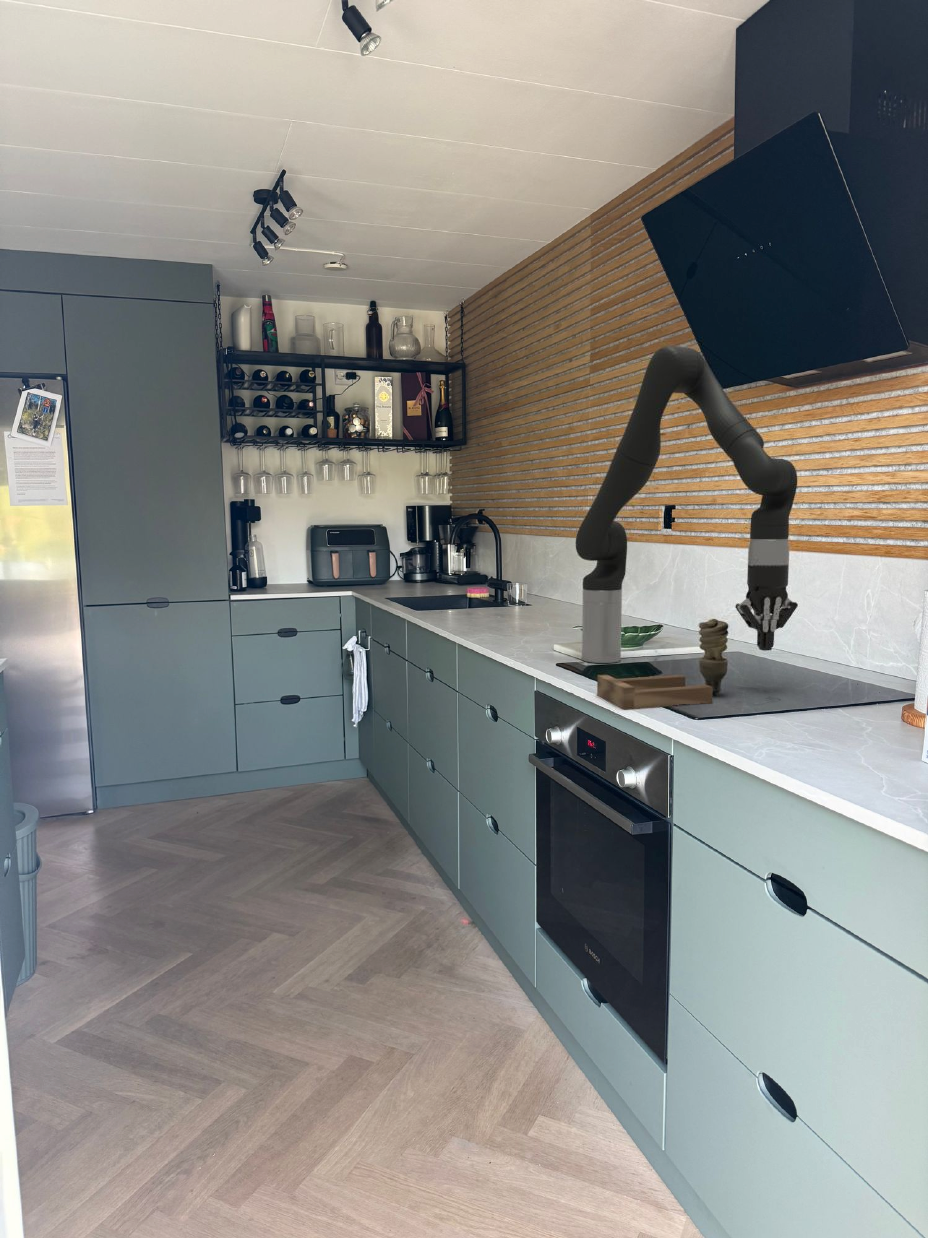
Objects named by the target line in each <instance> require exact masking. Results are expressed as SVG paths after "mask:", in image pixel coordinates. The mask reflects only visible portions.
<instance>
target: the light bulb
mask: <svg viewBox="0 0 928 1238" xmlns="http://www.w3.org/2000/svg"><path fill="white" fill-rule="evenodd" d="M698 623H699V624H698V628H699V630H698V634H699V635H700V637H699V639H698V640H699V642H700V643H701V644H700V645H699V649H700V650H702V651H704V655H703V657H700V658H699V671H700V674H701V675H702V677H703V678H704V680H705V685H708V686H711V687H713V694H712V697H714V696H716V695H717V694H719V693H720V691H722V689H721V688H722V687H721V685H722V680H723V679H724V678H725V676H726V675H727V672H728V663H729V662H728V658H725V657H723V652H725V651H727V649H728V645H727V643H728V640H729V639H728V635H729V631H728V628H729V624H728V623H727V622H725V621H723V620H719V619H716V618H711V619H709V620H708V621H707V620H706V621H705V622H704V621H703V622H702V621H701V622H698Z"/></svg>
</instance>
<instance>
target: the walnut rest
mask: <svg viewBox="0 0 928 1238" xmlns="http://www.w3.org/2000/svg"><path fill="white" fill-rule="evenodd" d="M596 682H597V684H596V686H597V689H596V690H597V691H596V696H598V697H600V698H601V699H604V700H606V702H609V703H610V704H613V705H614V706H616V707H618V708H620V709H622V710H635V709H636V710H637V709H648V708H662V707H663V708H665V707H674V706H673V705H678V706H680V705H679V704H690V705H701V704H700V703H703V704H711V703H713V695H712V694H713V687H711V686H708V685H706V684H702V685H690V686H686V676H685V675H682V674H673V675H671V674H670V675H658V676H644V677H643V676H642V677H629V678H627V677H626V678H615V677H613V676H611V675H608V674H598V675H597V680H596Z"/></svg>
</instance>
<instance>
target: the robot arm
mask: <svg viewBox="0 0 928 1238" xmlns="http://www.w3.org/2000/svg"><path fill="white" fill-rule="evenodd" d="M673 394H683V395H685V396H686V397H688V398H689V399H690V400H692V402H693V403H694V404H696V405H697V406H698V408H699V409H700V411H701V412H702V414H703V416H704V418H705V422H706V424H707V428H708V431H709V432H710V435H711V437H712V438H713V441H715V443H716V444H717V445H718V446H719V447H720V448H721V450H722V451H723V452H724V453H725V454H726V456H727V457H728V458H729V459H730V460H731V461H732V463H733V466H734V467H735V470H736V472H737V474H738V475H739V477H740V480H741V481H742V483H743V484H744V485H745V486H746V487H747V488H748V490H750V491H751V492H752V493H754V494H756V495H758V496H759V495H760V496H761V501H760V505H759V507H758V508H757V509H755V510H754V511H753V512H752V513H751V515H750V526H749V527H750V528H749V529H750V531H749V543H748V544H749V545H748V550H747V576H746V577H747V580H746V581H747V582H746V584H747V589H748V590H747V592H746V594H745V599H744V600H743V601H742V602H740V603H736V604H735V605H734V606H735V607H734V608H735V609H736V611H737V612H738V614H739V615H740V617H741V618H742V619H743V621H744V623H745V624H746V626H747V627H748V628H750V629H753V630H755V631H756V632H757V635H756V646H757V648H758V649H759V650H761V651H763V652H765V651H768V652H769V651H772V649H773V648H774V645H775V631H776V630H778V629H782V628H784V626H786V624H787V622H788V621H789V619H790V618H791V616H792V615H793V614H794V613H795V611H796V609H797V608H798V606H799V604H798V603H797V602H796V601H792V600H791V599H790V598H789V594H788V591H787V587H788V585H789V570H790V568H789V567H790V566H789V565H790V546H789V533H790V522H789V521H790V515H791V511H792V509H793V504H794V501H795V497H796V493H797V488H798V473H797V469H796V467H795V466H794V465H793V463H792V462H791V461H789V460H787V459H785V458H773V457H771V456H770V455H769V454H767V452H766V451H765V449H764V447H765V442H764V439H763V437H762V435H761V433H759V431H757V429H755V427H754V426H753V425H752V423H750V422H749V420H748V419H747V418H746V417H745V416H744V415H743V414H742V412H741V411H740V410H739V409H738V408H737V406H735V404H734V402H733V401H732V400H731V399H730V398H729V396H728V395H727V393H726V391H725V390H724V388H723V387H722V385H721V384H720V382H719V380H718V379H717V378H716V376H715V374H714V372H713V371H712V369H711V368H710V366H709V364H708V363H707V360H706V359H705V358H704V357H703V355H702V354H701V353H700V352H699V351H697V350H696V349H694V348H691V347H687V346H675V345H665V346H662V347H660V348H659V349H657V350H656V351H655V352H654V353H653V355H652V356H651V358H650V360H649V362H648V365H647V367H646V370H645V372H644V375H643V379H642V383H641V386H640V389H639V391H638V395H637V398H636V401H635V404H634V406H633V409H632V411H631V414H630V417H629V419H628V421H627V424H626V427H625V430H624V432H623V434H622V437H621V439H620V440H619V443H618V446H617V447H616V450H615V452H614V454H613V457H612V460H611V462H610V464H609V467H608V469H607V472H606V473H605V474H606V475H605V477H604V479H603V481H602V483H601V486H600V488H599V489H598V492H597V495H596V497H595V498H594V501H593V503H592V504H591V506H590V508H589V509H588V511H587V512H586V515H585V516H584V519H583V520H582V522H581V524H580V526H579V528H578V530H577V533H576V537H575V551H576V553H577V555H578V556H579V558H581V559H582V560H584V561H590V562H591V561H592V562H596V566H595V568H594V569H593V570H592V571H590V573H588V574H586V575H585V576H584V577H583V579H582V612H581V613H582V630H581V631H582V632H581V635H582V637H581V640H582V641H581V660H582V661H584V662H587V663H593V664H596V663H597V664H612V663H619V662H621V660H622V657H621V656H622V617H623V616H622V610H623V609H622V607H623V583H624V579H625V577H626V572H627V571H626V569H627V555H628V554H627V553H628V539H627V538H628V537H627V532H626V529H625V527H624V526H623V524H621V522H618V521H616V518H617V516H618V514H619V512H621V510H622V509H623V508H624V506H626V505H627V504H628V503H629V502H630V501H631V500H632V499H633V498H634V497H635V496H636V495H637V494H638V493H640V491H641V490H642V489H644V487H645V485H647V483H648V482H649V480H650V477H652V473H653V471H654V469H655V467H656V465H657V463H658V460H659V458H660V454H661V449H662V448H661V446H662V445H661V444H662V442H661V441H662V440H661V439H662V438H661V435H662V434H661V425H662V424H661V422H662V420H663V419H662V418H663V415H664V412H665V410H666V408H667V406H668V403H669V401H670V400H671V398H672V395H673ZM752 610H753V612H752Z"/></svg>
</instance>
